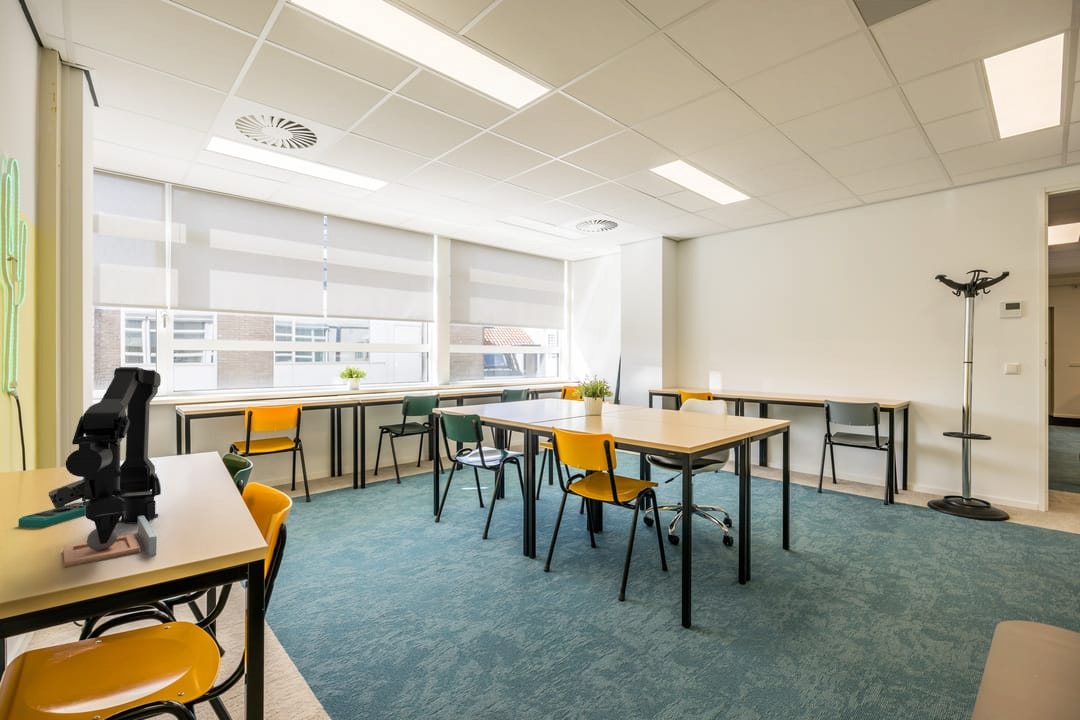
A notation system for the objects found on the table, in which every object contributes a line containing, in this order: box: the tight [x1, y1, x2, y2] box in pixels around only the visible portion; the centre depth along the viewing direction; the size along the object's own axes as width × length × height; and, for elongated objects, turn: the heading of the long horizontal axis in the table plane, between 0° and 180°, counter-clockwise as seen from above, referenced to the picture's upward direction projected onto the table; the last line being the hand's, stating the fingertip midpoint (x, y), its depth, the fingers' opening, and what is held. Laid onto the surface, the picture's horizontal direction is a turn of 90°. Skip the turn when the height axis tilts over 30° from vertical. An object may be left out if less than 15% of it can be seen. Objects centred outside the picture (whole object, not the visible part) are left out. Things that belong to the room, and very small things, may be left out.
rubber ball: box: [86, 528, 118, 551], centre depth 110 cm, size 5×5×5 cm
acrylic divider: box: [137, 516, 158, 557], centre depth 115 cm, size 20×1×4 cm, turn 45°
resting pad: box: [62, 533, 141, 568], centre depth 110 cm, size 12×12×1 cm
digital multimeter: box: [18, 501, 86, 529], centre depth 132 cm, size 7×15×3 cm, turn 174°
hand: (101, 538), depth 110 cm, fingers open, 9 cm apart
